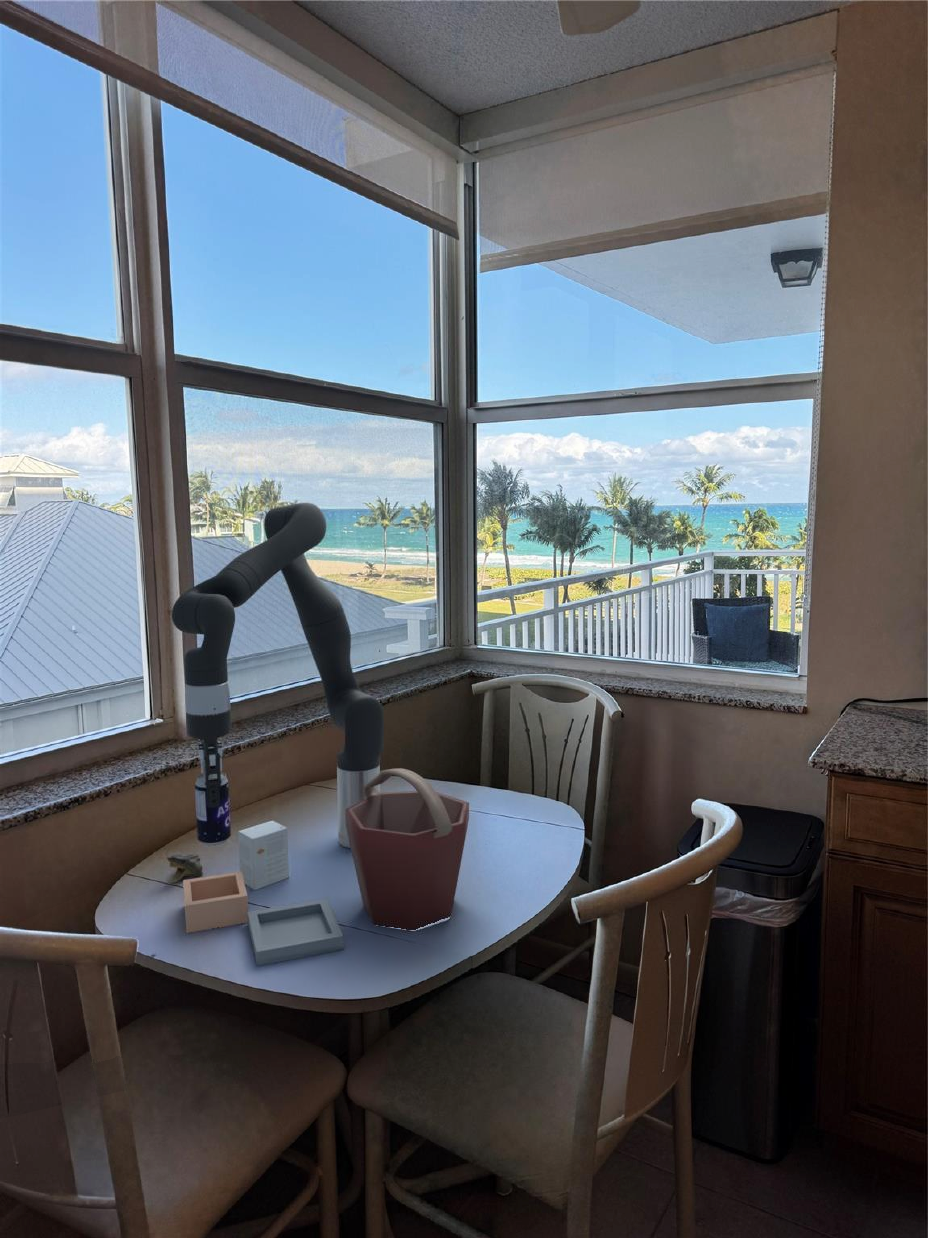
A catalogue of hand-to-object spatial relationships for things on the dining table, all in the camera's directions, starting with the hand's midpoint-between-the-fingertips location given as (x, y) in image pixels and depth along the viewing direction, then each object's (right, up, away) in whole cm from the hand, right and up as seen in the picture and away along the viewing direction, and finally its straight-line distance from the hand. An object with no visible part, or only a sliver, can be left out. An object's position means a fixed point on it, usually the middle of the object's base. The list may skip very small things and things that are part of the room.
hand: (212, 800), depth 145 cm
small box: (+5, -20, +17) cm, 26 cm away
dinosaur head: (-12, -20, +17) cm, 29 cm away
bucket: (+35, -21, +5) cm, 41 cm away
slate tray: (+15, -22, -5) cm, 27 cm away
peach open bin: (0, -21, +3) cm, 21 cm away
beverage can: (0, -8, +1) cm, 8 cm away
